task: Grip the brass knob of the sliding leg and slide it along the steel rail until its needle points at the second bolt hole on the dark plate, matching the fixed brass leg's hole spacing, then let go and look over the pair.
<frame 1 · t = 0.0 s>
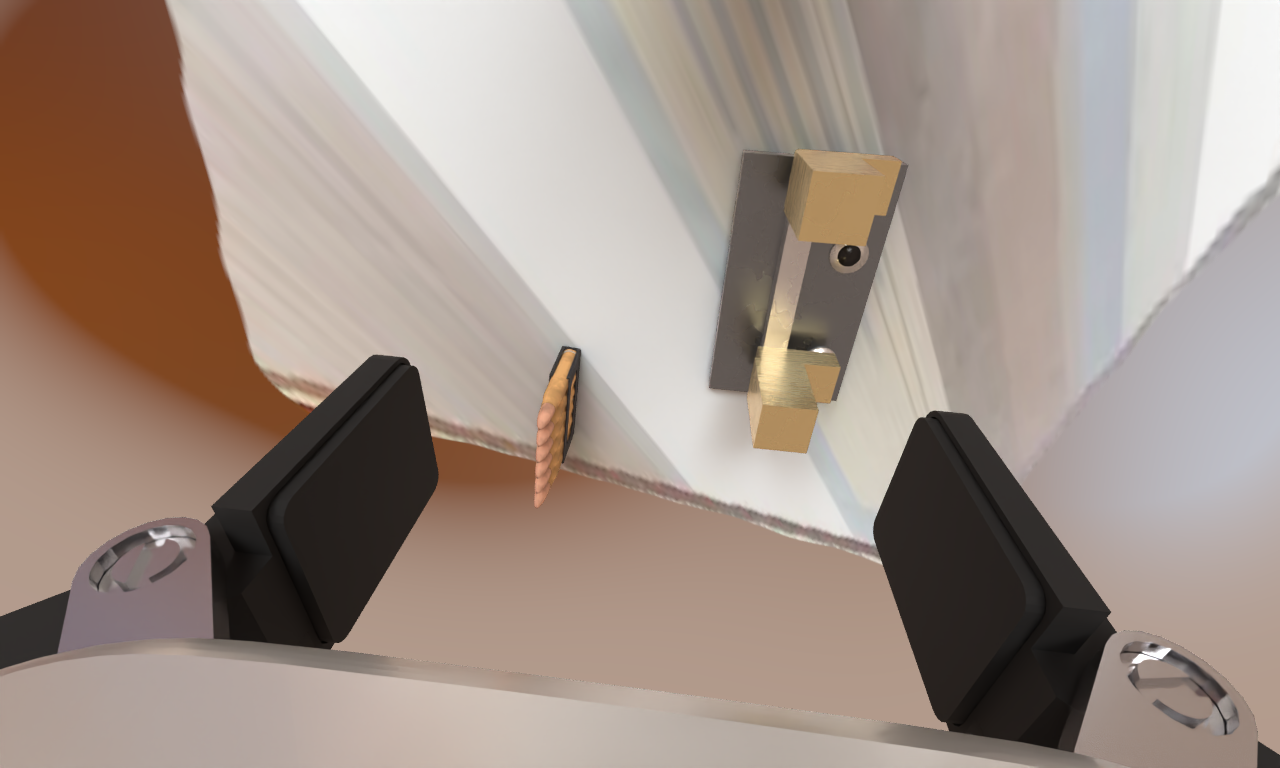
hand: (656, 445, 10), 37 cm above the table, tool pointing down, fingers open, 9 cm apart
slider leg: (847, 191, 35), point 7 cm above the table, slide at 6.0 cm
hole plate: (793, 285, 46), on the table
ammunition clip: (568, 391, 55), on the table
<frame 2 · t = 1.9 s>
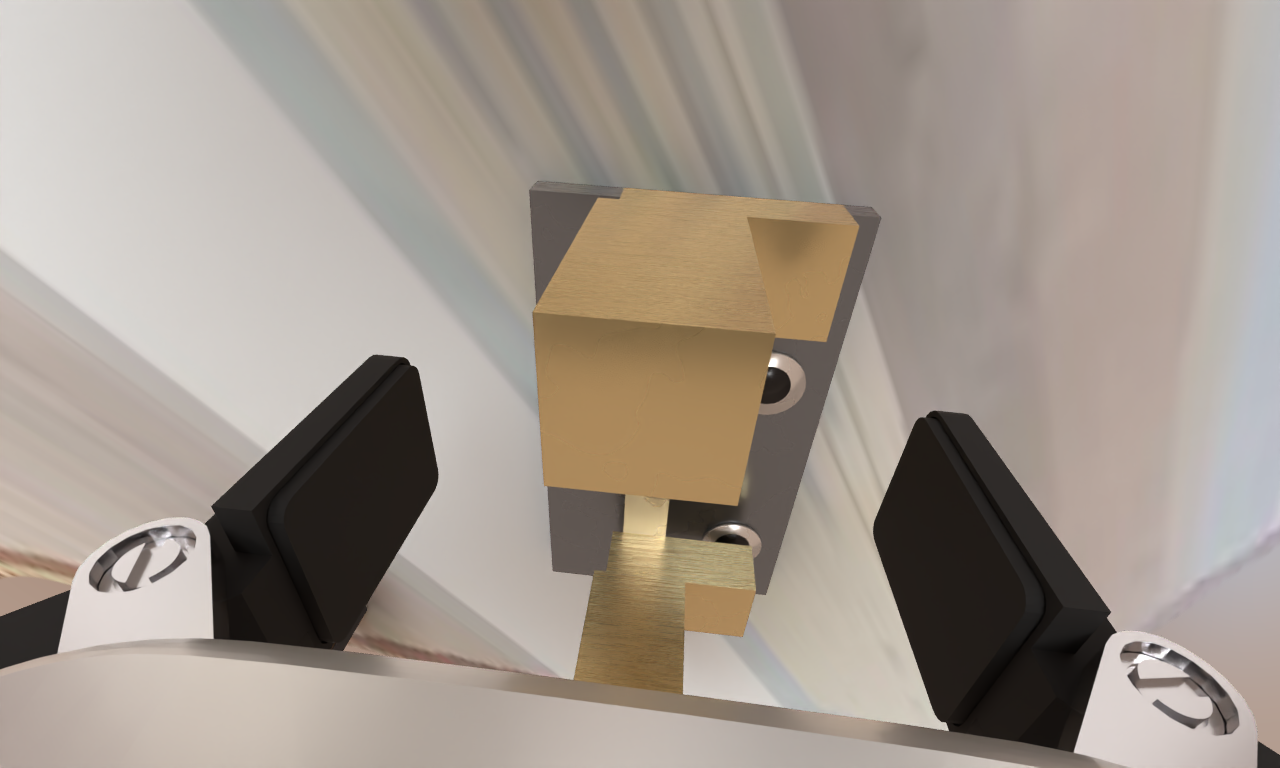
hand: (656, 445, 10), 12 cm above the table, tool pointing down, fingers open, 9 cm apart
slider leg: (720, 305, 14), point 7 cm above the table, slide at 6.0 cm
hole plate: (676, 423, 25), on the table
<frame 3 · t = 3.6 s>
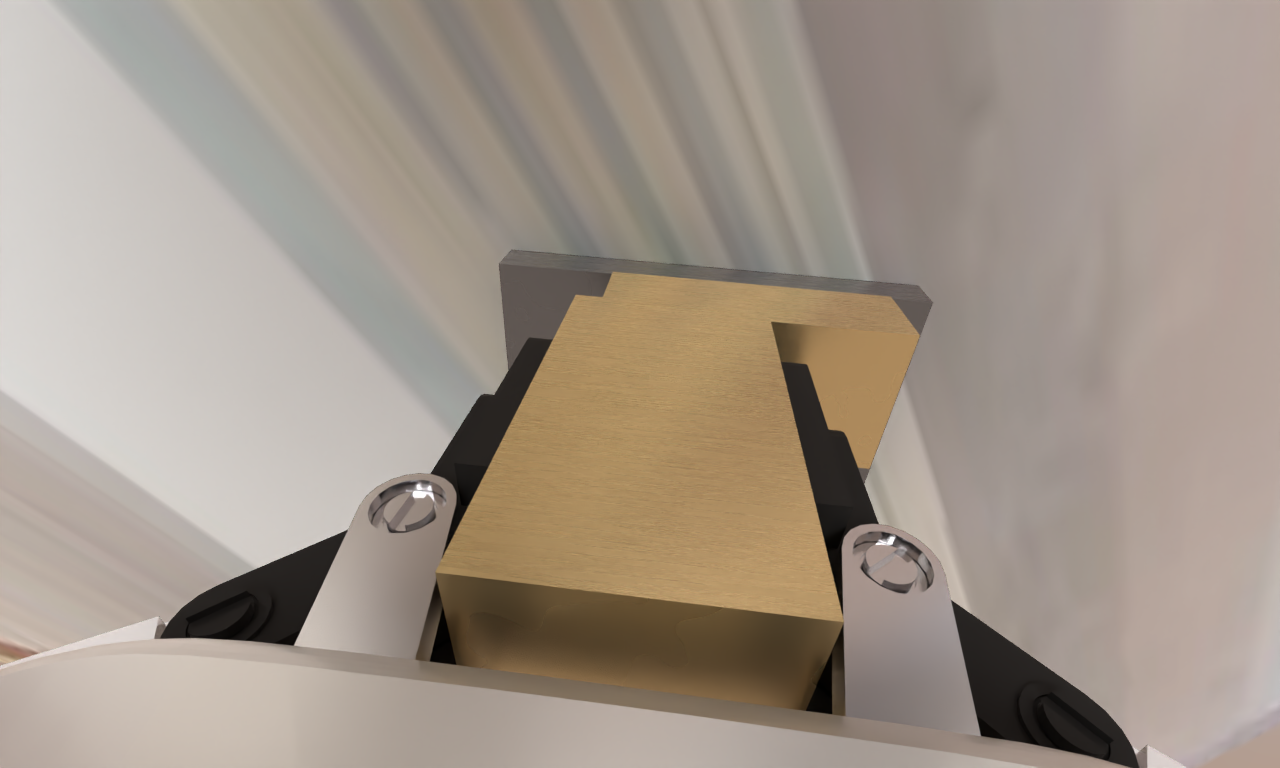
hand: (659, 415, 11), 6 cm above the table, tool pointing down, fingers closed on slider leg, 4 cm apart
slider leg: (736, 444, 10), point 7 cm above the table, slide at 6.0 cm, touching gripper
hole plate: (677, 517, 22), on the table
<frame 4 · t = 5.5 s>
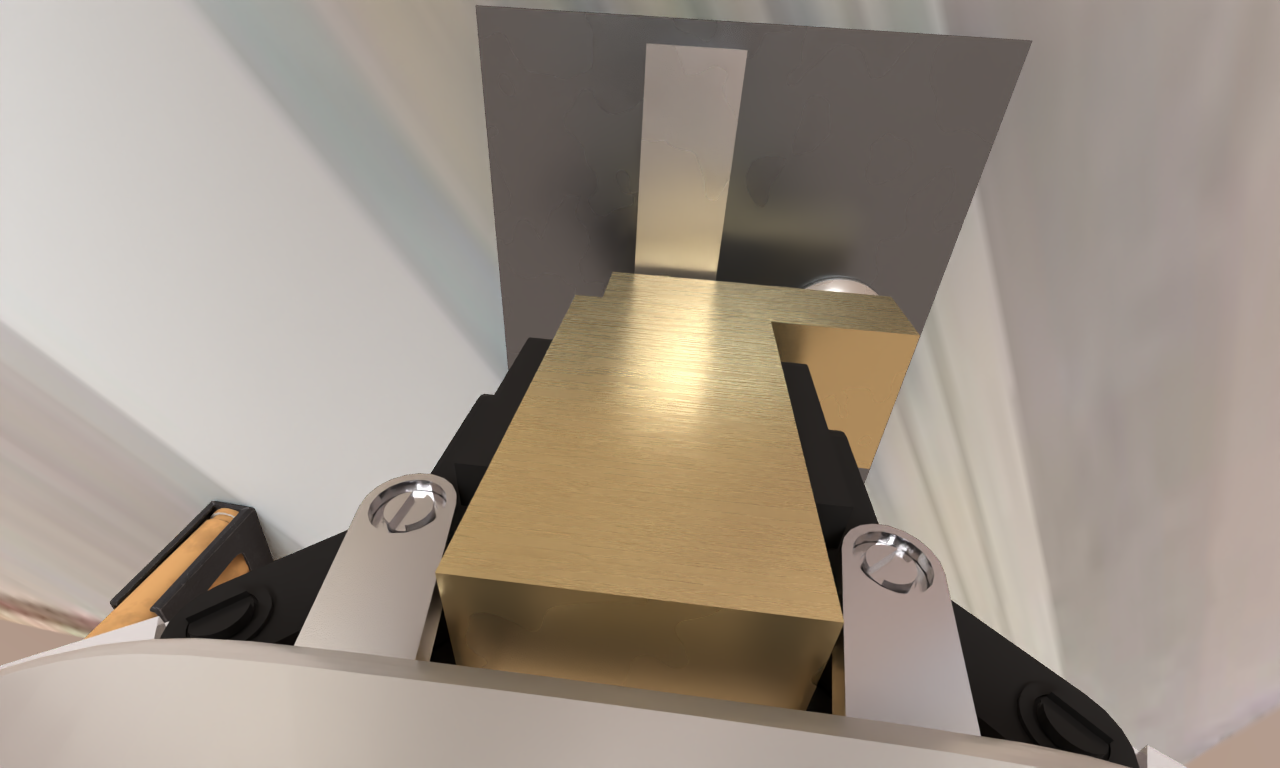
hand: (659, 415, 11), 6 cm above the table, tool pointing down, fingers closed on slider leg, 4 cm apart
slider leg: (736, 444, 10), point 7 cm above the table, slide at 0.0 cm, touching gripper
hole plate: (693, 394, 18), on the table
ammunition clip: (265, 574, 27), on the table
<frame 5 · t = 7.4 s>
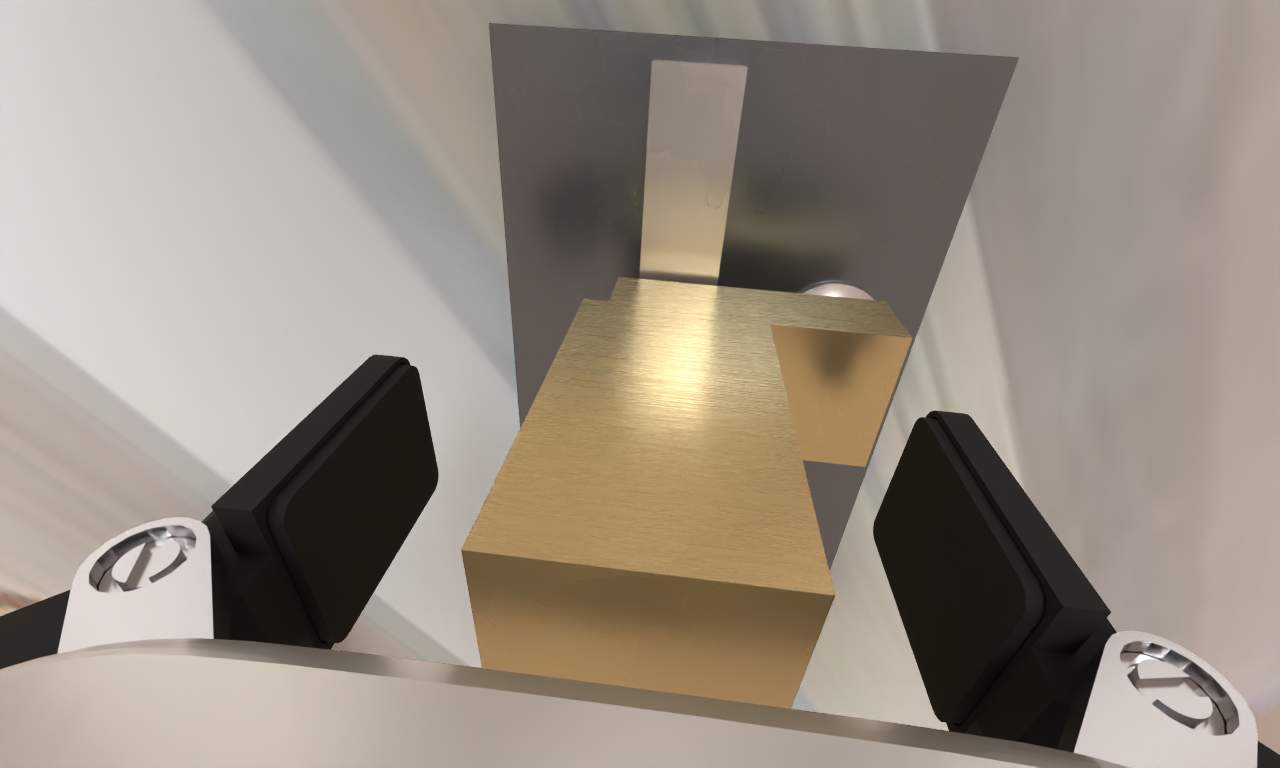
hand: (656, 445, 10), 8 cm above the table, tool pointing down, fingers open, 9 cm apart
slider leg: (737, 441, 11), point 7 cm above the table, slide at 0.0 cm
hole plate: (695, 395, 19), on the table
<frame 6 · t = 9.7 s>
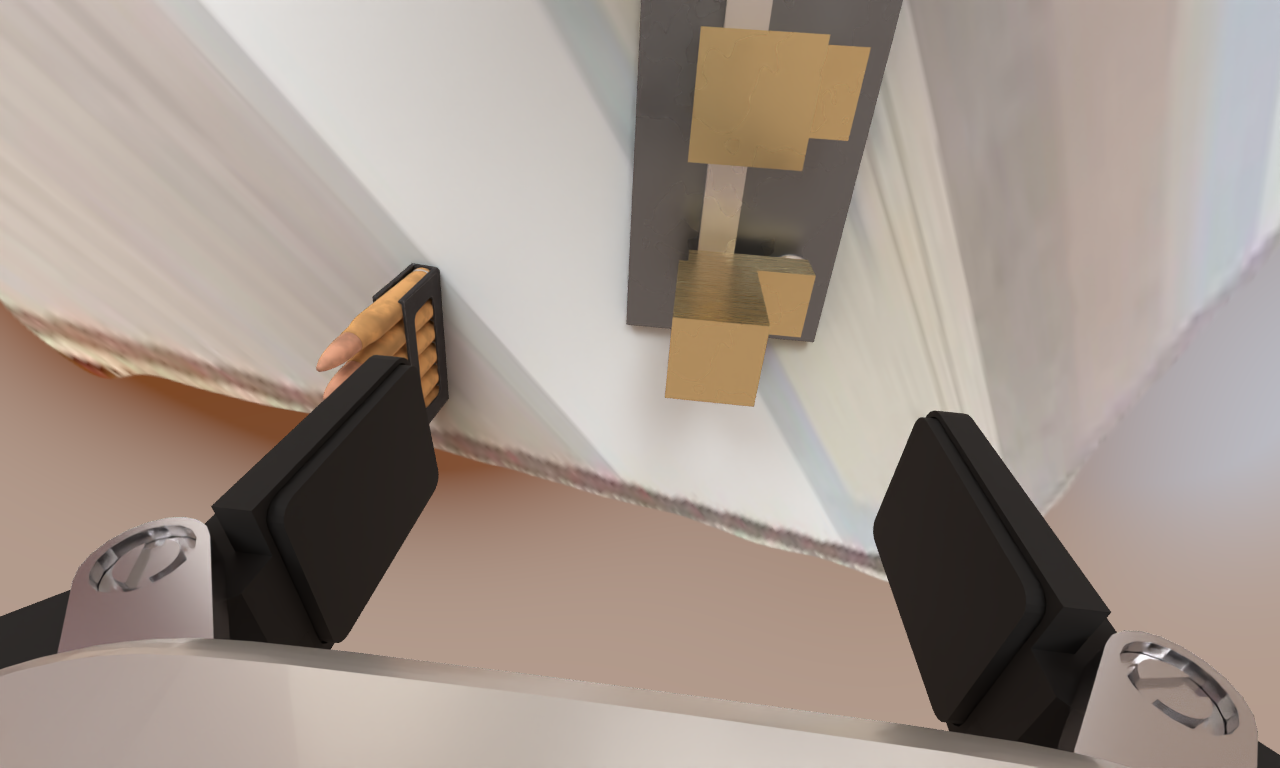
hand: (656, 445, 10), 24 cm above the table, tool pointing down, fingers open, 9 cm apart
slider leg: (782, 93, 22), point 7 cm above the table, slide at 0.0 cm
hole plate: (744, 154, 30), on the table
ammunition clip: (432, 334, 38), on the table
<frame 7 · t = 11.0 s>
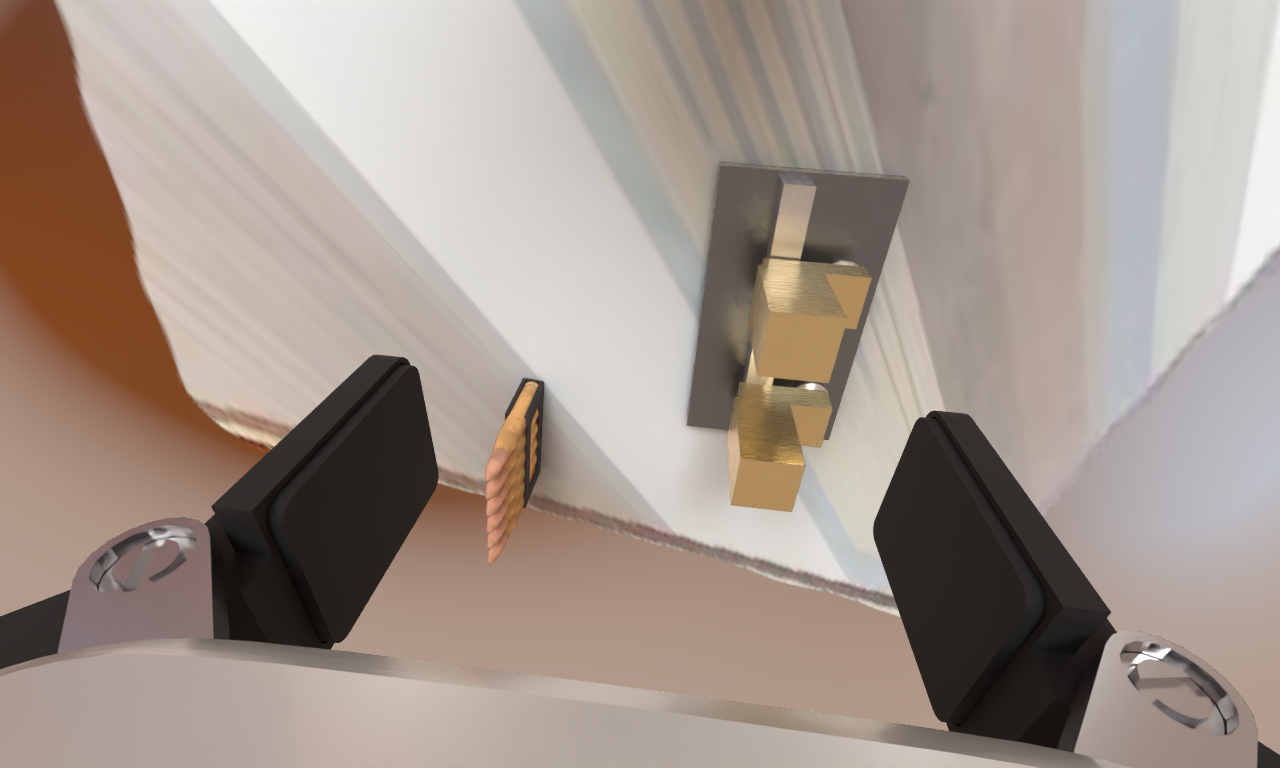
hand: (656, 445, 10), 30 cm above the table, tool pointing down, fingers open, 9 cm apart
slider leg: (813, 311, 33), point 7 cm above the table, slide at 0.0 cm
hole plate: (779, 314, 41), on the table
ammunition clip: (532, 425, 50), on the table
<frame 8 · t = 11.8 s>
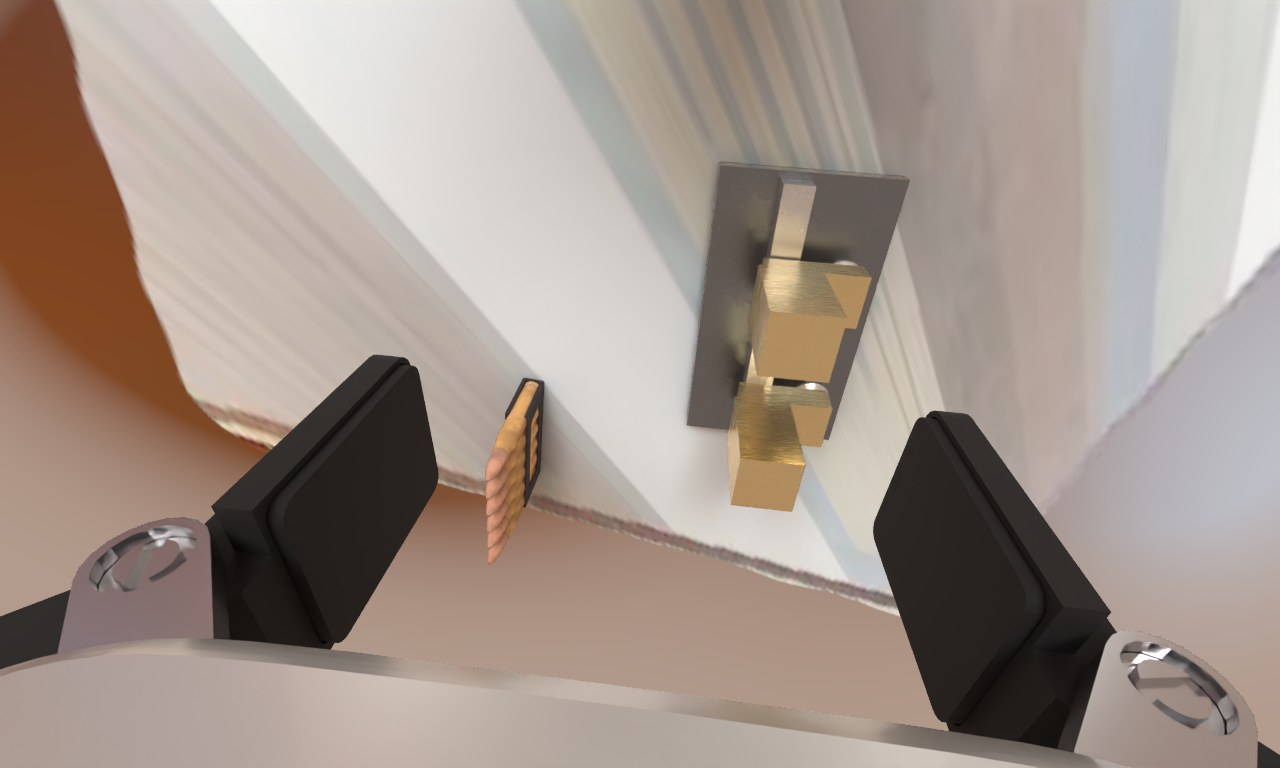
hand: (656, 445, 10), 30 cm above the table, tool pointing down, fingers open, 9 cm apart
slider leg: (813, 311, 33), point 7 cm above the table, slide at 0.0 cm
hole plate: (779, 314, 41), on the table
ammunition clip: (532, 425, 50), on the table
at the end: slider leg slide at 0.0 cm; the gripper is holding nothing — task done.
